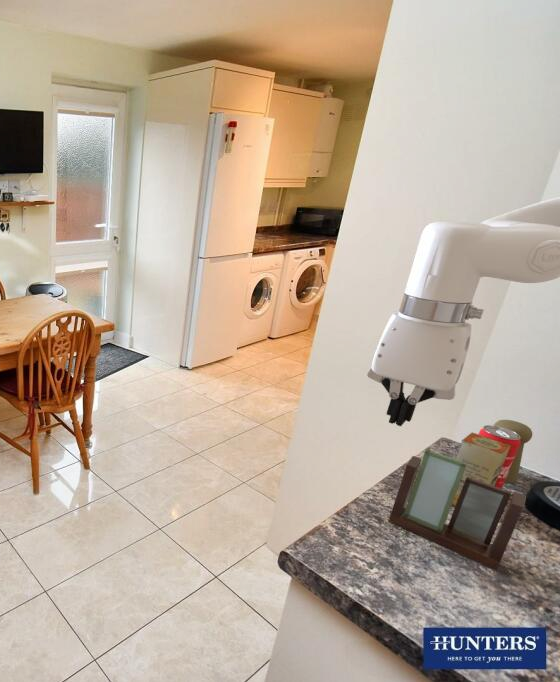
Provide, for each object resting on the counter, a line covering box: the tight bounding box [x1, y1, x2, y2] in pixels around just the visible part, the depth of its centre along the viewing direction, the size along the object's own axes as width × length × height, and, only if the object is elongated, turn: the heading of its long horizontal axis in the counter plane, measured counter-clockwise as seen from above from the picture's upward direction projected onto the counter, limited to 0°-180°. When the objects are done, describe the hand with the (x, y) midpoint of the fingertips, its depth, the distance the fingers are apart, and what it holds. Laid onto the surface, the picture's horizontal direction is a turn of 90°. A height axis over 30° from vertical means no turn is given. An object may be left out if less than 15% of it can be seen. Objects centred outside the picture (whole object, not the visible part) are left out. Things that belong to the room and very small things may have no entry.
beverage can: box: [477, 424, 521, 489], centre depth 80 cm, size 5×5×12 cm
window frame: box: [388, 455, 527, 571], centre depth 68 cm, size 13×4×11 cm, turn 41°
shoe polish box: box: [452, 431, 511, 507], centre depth 76 cm, size 5×5×12 cm
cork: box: [492, 419, 533, 484], centre depth 85 cm, size 6×6×11 cm
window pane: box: [403, 448, 467, 532], centre depth 69 cm, size 5×1×12 cm, turn 41°
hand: (397, 421), depth 70 cm, fingers closed
